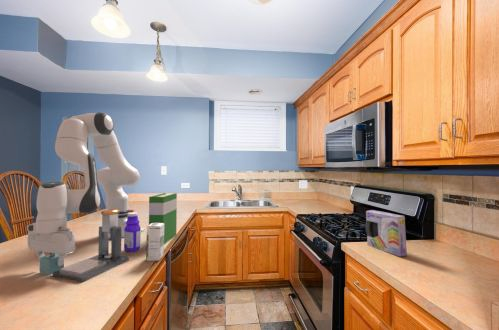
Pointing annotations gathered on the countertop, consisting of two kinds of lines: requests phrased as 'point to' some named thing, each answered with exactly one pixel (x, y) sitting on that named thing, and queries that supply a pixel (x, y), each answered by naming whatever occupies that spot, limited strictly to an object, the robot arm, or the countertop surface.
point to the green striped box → (164, 213)
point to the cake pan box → (386, 232)
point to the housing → (49, 264)
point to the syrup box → (155, 242)
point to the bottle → (132, 233)
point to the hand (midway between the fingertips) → (50, 263)
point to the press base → (96, 259)
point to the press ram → (109, 221)
